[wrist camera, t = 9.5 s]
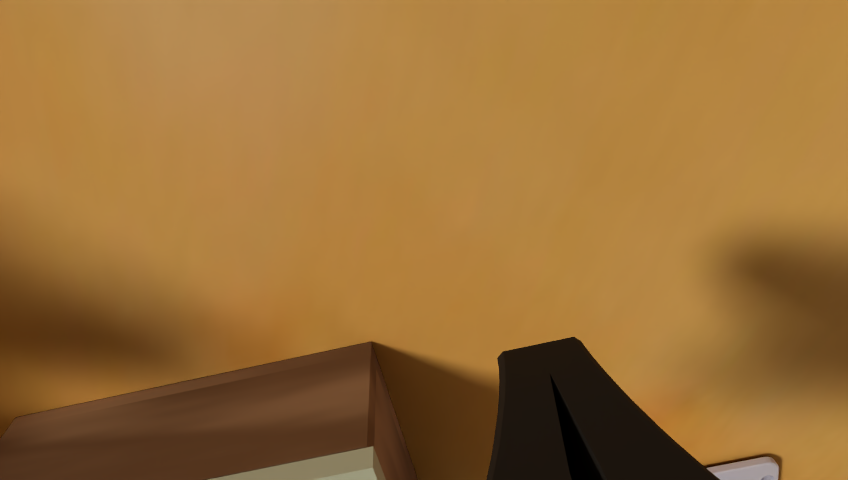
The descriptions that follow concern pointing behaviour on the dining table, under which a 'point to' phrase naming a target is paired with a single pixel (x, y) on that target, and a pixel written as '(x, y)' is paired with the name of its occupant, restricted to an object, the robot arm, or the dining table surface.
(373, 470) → the lid
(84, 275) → the dining table surface
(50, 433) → the walnut box
